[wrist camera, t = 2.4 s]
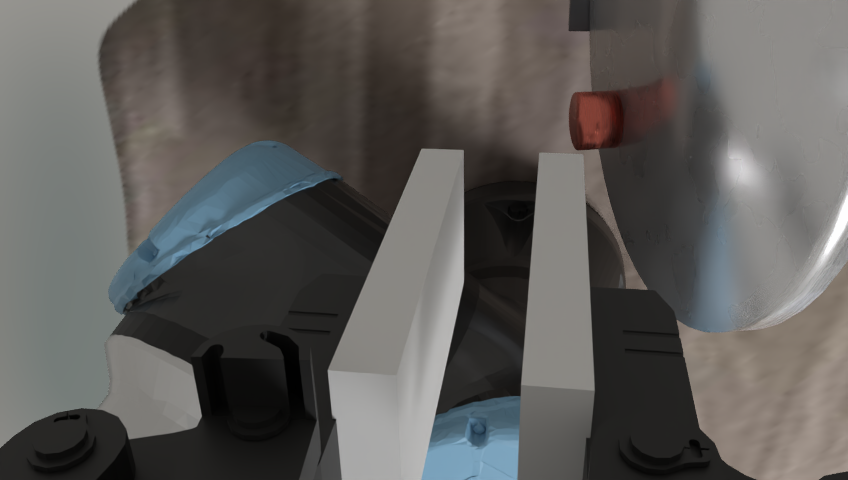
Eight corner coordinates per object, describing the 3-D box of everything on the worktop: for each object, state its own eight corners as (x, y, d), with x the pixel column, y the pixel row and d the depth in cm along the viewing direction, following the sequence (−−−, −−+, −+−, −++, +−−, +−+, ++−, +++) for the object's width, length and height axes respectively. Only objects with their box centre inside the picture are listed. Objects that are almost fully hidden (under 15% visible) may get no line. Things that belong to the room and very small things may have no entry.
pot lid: (600, 183, 41) (545, 187, 40) (640, -294, 31) (569, -293, 31) (812, 467, 23) (716, 477, 23) (1051, -434, 14) (893, -433, 13)
